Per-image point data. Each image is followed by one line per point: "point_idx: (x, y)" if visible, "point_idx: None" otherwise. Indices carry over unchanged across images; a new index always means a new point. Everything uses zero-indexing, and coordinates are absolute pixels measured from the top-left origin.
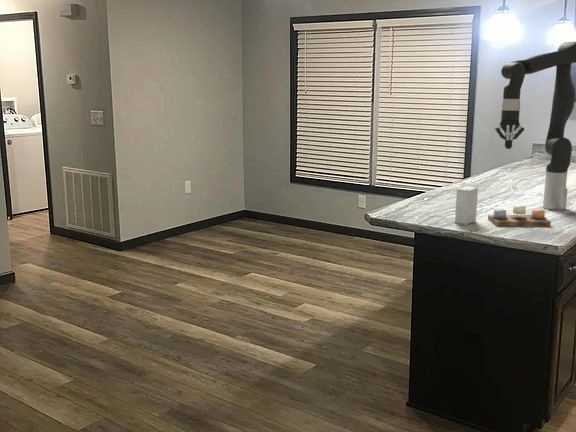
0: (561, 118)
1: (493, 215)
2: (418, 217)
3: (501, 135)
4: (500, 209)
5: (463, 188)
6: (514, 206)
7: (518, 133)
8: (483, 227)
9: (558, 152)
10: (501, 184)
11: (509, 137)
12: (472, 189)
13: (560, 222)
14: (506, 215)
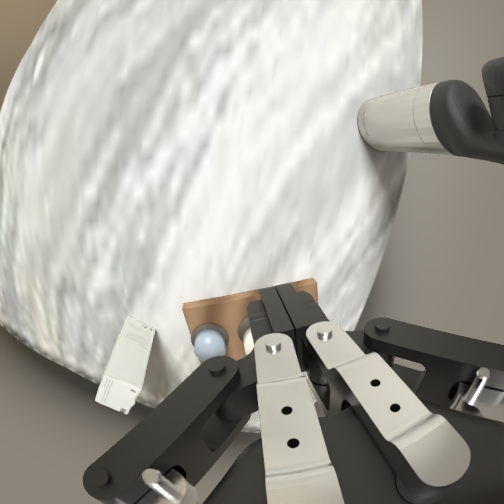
0: None
1: (195, 314)
2: (42, 305)
3: (205, 440)
4: (211, 342)
5: (108, 398)
6: (246, 354)
7: (421, 397)
8: (176, 372)
9: None
10: None
11: (320, 353)
12: (132, 405)
13: (349, 296)
14: (229, 307)
